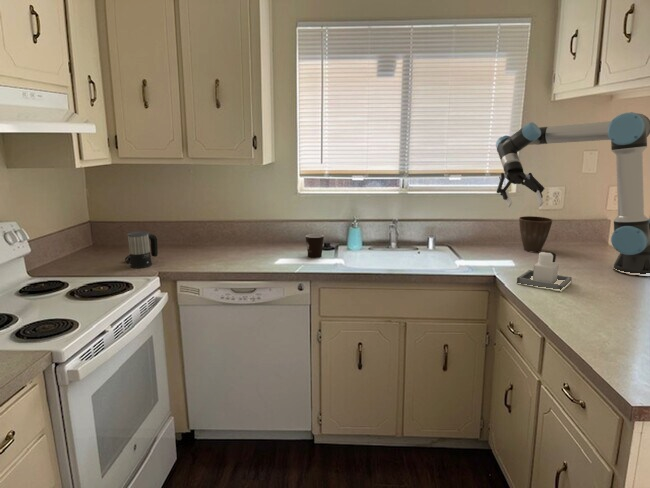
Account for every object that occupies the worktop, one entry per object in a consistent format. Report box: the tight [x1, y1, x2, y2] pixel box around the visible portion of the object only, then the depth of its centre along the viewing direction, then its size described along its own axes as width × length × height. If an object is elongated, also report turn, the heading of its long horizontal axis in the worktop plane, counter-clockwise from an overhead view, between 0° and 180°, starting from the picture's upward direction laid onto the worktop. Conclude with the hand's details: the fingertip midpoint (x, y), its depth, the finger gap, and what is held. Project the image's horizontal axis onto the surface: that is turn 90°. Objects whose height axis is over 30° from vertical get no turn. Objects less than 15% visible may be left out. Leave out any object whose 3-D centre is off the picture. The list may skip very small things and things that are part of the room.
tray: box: [516, 269, 573, 290], centre depth 188 cm, size 16×14×2 cm
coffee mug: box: [305, 233, 325, 259], centre depth 232 cm, size 12×9×10 cm
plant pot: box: [518, 215, 553, 252], centre depth 240 cm, size 15×15×16 cm
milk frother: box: [124, 230, 158, 269], centre depth 218 cm, size 14×16×15 cm
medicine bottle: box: [532, 250, 559, 284], centre depth 187 cm, size 7×7×12 cm
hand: (525, 205), depth 203 cm, fingers open, 13 cm apart
